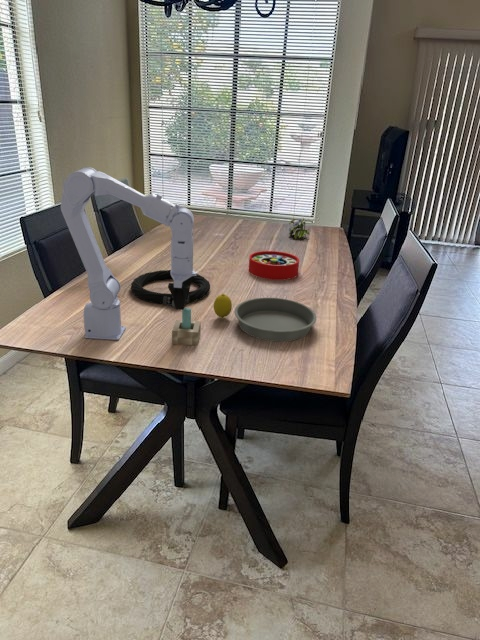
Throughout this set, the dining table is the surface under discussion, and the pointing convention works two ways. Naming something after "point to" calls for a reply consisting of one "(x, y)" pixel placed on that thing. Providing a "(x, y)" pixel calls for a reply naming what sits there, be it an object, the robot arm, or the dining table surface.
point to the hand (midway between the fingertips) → (181, 303)
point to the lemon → (222, 305)
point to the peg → (186, 318)
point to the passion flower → (298, 225)
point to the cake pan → (275, 318)
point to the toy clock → (273, 265)
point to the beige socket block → (186, 333)
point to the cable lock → (166, 297)
